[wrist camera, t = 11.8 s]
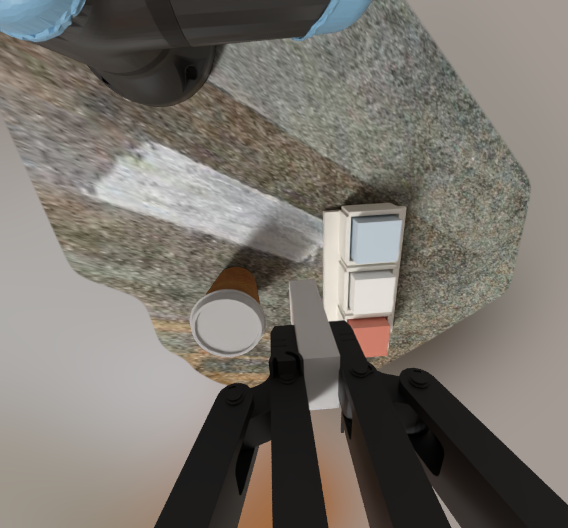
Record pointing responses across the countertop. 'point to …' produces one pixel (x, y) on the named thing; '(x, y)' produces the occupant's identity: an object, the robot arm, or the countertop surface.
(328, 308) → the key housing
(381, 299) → the white key
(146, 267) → the countertop surface
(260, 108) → the countertop surface
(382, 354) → the brick-red key
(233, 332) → the disposable coffee cup
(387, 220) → the pale blue key
